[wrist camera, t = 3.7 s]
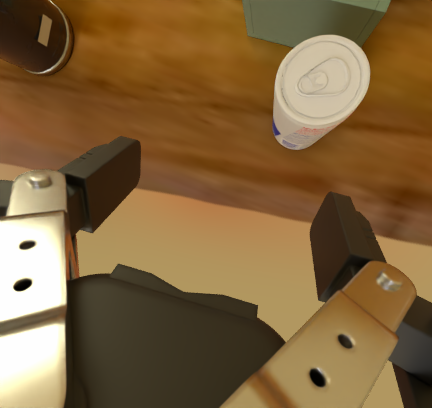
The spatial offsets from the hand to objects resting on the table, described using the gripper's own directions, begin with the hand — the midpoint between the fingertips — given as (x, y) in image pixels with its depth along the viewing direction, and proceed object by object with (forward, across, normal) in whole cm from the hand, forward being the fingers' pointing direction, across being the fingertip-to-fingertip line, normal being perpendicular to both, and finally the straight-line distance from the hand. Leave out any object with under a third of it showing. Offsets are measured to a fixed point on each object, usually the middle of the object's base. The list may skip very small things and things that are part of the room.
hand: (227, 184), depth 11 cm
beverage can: (+22, -5, +3) cm, 23 cm away
